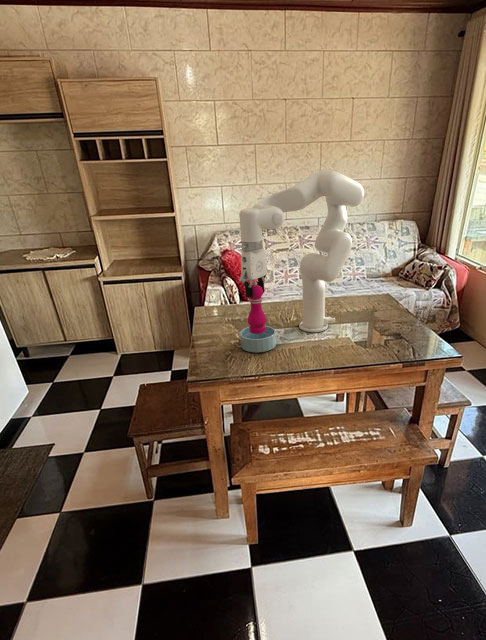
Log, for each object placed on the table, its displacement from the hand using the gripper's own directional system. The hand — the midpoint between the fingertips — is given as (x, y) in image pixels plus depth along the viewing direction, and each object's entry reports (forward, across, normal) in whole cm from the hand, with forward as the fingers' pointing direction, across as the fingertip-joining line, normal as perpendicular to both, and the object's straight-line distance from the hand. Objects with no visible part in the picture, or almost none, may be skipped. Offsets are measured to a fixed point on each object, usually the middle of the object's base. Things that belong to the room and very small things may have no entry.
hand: (255, 294), depth 153 cm
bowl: (+22, 0, 0) cm, 22 cm away
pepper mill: (+15, 0, 0) cm, 15 cm away
